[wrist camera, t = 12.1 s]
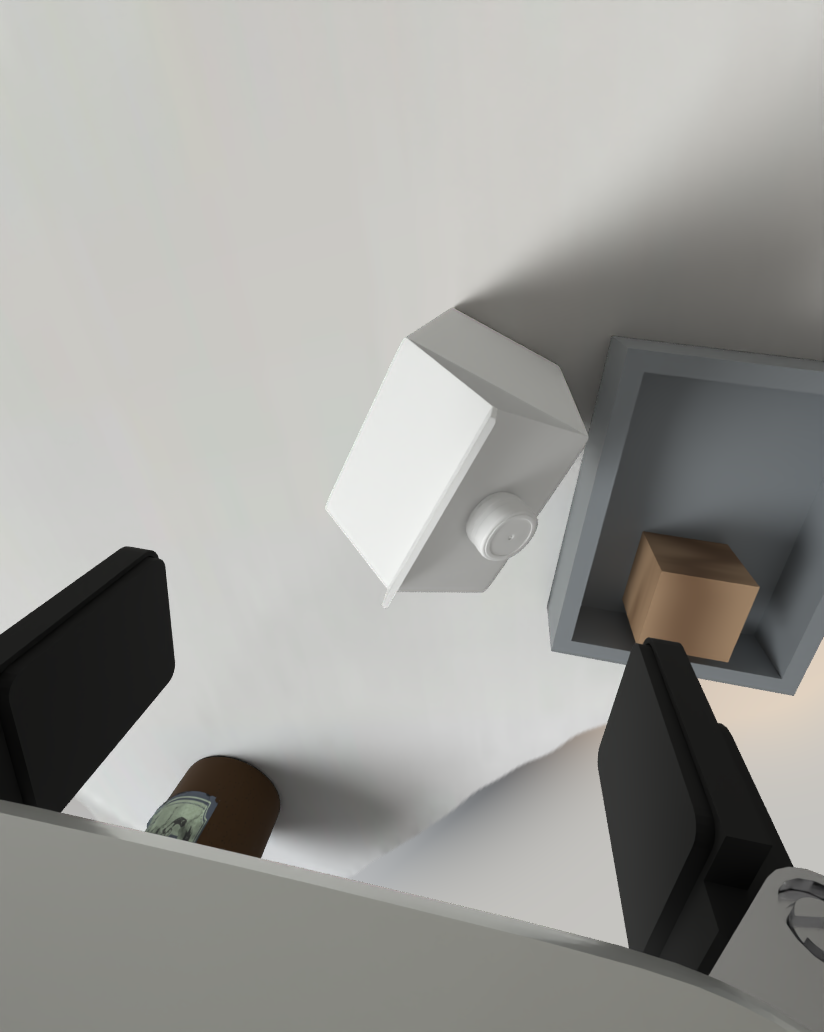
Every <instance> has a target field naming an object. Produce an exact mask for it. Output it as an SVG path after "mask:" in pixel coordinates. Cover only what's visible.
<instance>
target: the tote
mask: <svg viewBox="0 0 824 1032" xmlns="http://www.w3.org/2000/svg"><path fill="white" fill-rule="evenodd" d="M588 436H589V438H588V441H587V443H586V446H585V450H584V455H583V459H582V463H581V467H580V471H579V475H578V480H577V484H576V488H575V492H574V496H573V500H572V505H571V509H570V513H569V517H568V521H567V525H566V530H565V534H564V538H563V542H562V546H561V550H560V555H559V559H558V563H557V567H556V571H555V575H554V580H553V584H552V588H551V592H550V596H549V601H548V605H547V610H548V621H549V632H550V644H551V651H554V652H559V653H564V654H570V655H575V656H581V657H586V658H592V659H597V660H602V661H608V662H613V663H619V664H624V665H626V664H627V661H628V658H629V655H630V652H631V649H632V647H633V645H634V644H635V643H636V642H635V639H634V635H633V632H632V629H631V626H630V623H629V619H628V616H627V613H626V610H625V607H624V604H623V600H622V598H623V595H624V591H625V588H626V585H627V581H628V578H629V575H630V572H631V568H632V565H633V562H634V558H635V555H636V552H637V549H638V545H639V542H640V539H641V535H642V532H643V531H645V532H651V533H657V534H664V535H670V536H677V537H683V538H689V539H696V540H702V541H709V542H715V543H721V544H728V546H729V547H730V548H731V550H732V551H733V552H734V554H735V555H736V556H737V558H738V559H739V560H740V562H741V563H742V564H743V566H744V567H745V568H746V570H747V571H748V572H749V574H750V575H751V576H752V577H753V579H754V580H755V581H756V583H757V584H758V585H759V587H760V588H759V590H758V593H757V595H756V598H755V600H754V602H753V605H752V607H751V609H750V612H749V614H748V616H747V619H746V621H745V623H744V626H743V628H742V631H741V633H740V635H739V638H738V640H737V642H736V645H735V647H734V649H733V652H732V654H731V657H730V659H729V661H728V662H723V661H717V660H712V659H706V658H701V657H695V656H689V655H687V656H688V659H689V661H690V663H691V665H692V667H693V670H694V672H695V674H696V676H697V678H700V679H705V680H711V681H716V682H722V683H728V684H733V685H738V686H744V687H749V688H755V689H760V690H765V691H770V692H776V693H781V694H787V695H792V696H794V694H795V692H796V690H797V688H798V686H799V684H800V682H801V680H802V678H803V676H804V674H805V672H806V670H807V668H808V666H809V665H810V663H811V660H812V659H813V657H814V655H815V653H816V651H817V649H818V647H819V645H820V642H821V640H822V639H823V637H824V361H816V360H808V359H800V358H791V357H783V356H775V355H766V354H758V353H749V352H741V351H733V350H724V349H716V348H708V347H699V346H691V345H683V344H674V343H666V342H658V341H649V340H641V339H633V338H624V337H616V336H612V338H611V342H610V346H609V350H608V354H607V359H606V363H605V367H604V371H603V375H602V379H601V384H600V388H599V392H598V396H597V400H596V404H595V409H594V413H593V417H592V421H591V425H590V430H589V434H588Z"/></svg>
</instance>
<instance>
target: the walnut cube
mask: <svg viewBox="0 0 824 1032" xmlns="http://www.w3.org/2000/svg"><path fill="white" fill-rule="evenodd" d="M759 588H760V587H759V585H758V584H757V583H756V581H755V580H754V579H753V577H752V576H751V575H750V574H749V572H748V571H747V570H746V568H745V567H744V566H743V564H742V563H741V562H740V560H739V559H738V558H737V556H736V555H735V554H734V552H733V551H732V550H731V548H730V547H729V546H728V544H721V543H715V542H709V541H702V540H696V539H689V538H683V537H677V536H670V535H664V534H657V533H651V532H645V531H643V532H642V535H641V539H640V542H639V545H638V549H637V552H636V555H635V558H634V562H633V565H632V568H631V572H630V575H629V578H628V581H627V585H626V588H625V591H624V595H623V598H622V600H623V604H624V607H625V610H626V613H627V616H628V619H629V623H630V626H631V629H632V632H633V635H634V639H635V642H636V643H639V644H643V642H644V641H645V639H646V638H648V637H650V638H656V639H662V640H667V641H673V642H678V643H681V644H682V646H683V648H684V650H685V652H686V654H687V655H689V656H695V657H701V658H706V659H712V660H717V661H723V662H728V661H729V659H730V657H731V654H732V652H733V649H734V647H735V645H736V642H737V640H738V638H739V635H740V633H741V631H742V628H743V626H744V623H745V621H746V619H747V616H748V614H749V612H750V609H751V607H752V605H753V602H754V600H755V598H756V595H757V593H758V590H759Z"/></svg>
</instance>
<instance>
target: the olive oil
mask: <svg viewBox="0 0 824 1032" xmlns="http://www.w3.org/2000/svg"><path fill="white" fill-rule="evenodd" d="M279 810H280V799H279V795H278V793H277V791H276V789H275V787H274V785H273V784H272V783H271V781H270V780H269V779H268V778H267V777H266V776H265V775H264V774H263V773H261V772H260V771H259V770H257V769H256V768H254V767H253V766H251V765H249V764H247V763H245V762H242V761H240V760H237V759H233V758H228V757H209V758H204V759H202V760H199V761H197V762H196V763H194V764H193V765H192V766H191V767H190V768H189V770H188V771H187V773H186V774H185V775H184V777H183V778H182V780H181V781H180V783H179V784H178V785H177V787H176V788H175V790H174V791H173V793H172V794H171V796H170V797H169V798H168V800H167V801H166V802H165V803H164V804H162V806H160V807H159V808H158V810H157V811H156V812H155V814H154V815H153V816H152V818H151V819H150V820H149V822H148V823H147V829H146V831H145V832H148V833H153V834H157V835H161V836H166V837H170V838H175V839H179V840H183V841H188V842H192V843H196V844H201V845H205V846H209V847H214V848H218V849H222V850H226V851H231V852H235V853H239V854H244V855H248V856H252V857H257V858H261V857H262V854H263V852H264V849H265V847H266V844H267V842H268V839H269V837H270V834H271V832H272V829H273V827H274V824H275V822H276V819H277V817H278V814H279Z"/></svg>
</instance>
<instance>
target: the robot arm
mask: <svg viewBox="0 0 824 1032" xmlns="http://www.w3.org/2000/svg"><path fill="white" fill-rule="evenodd" d="M174 669H175V658H174V649H173V639H172V629H171V619H170V609H169V599H168V589H167V579H166V569H165V564H164V562H163V560H161V559H159V558H158V555H157V554H156V552H154V551H152V550H146V549H140V548H134V547H123V548H121V549H119V550H118V551H116V552H115V553H114V554H112V555H111V556H109V557H108V558H107V559H105V560H104V561H102V562H101V563H100V564H98V565H97V566H95V567H94V568H93V569H91V570H90V571H88V572H87V573H86V574H84V575H83V576H82V577H80V578H79V579H77V580H76V581H75V582H73V583H72V584H70V585H69V586H68V587H66V588H65V589H63V590H62V591H61V592H59V593H58V594H56V595H55V596H54V597H52V598H51V599H49V600H48V601H47V602H45V603H44V604H42V605H41V606H40V607H38V608H37V609H35V610H34V611H33V612H31V613H30V614H28V615H27V616H26V617H24V618H23V619H21V620H20V621H19V622H17V623H16V624H14V625H13V626H12V627H10V628H9V629H7V630H6V631H5V632H3V633H2V634H0V1032H824V876H823V875H821V874H818V873H815V872H813V871H810V870H808V869H802V868H795V867H793V865H792V863H791V861H790V859H789V856H788V854H787V852H786V850H785V848H784V846H783V844H782V841H781V839H780V837H779V835H778V833H777V831H776V829H775V826H774V824H773V822H772V820H771V818H770V816H769V814H768V812H767V809H766V807H765V806H764V803H763V801H762V799H761V797H760V795H759V793H758V790H757V788H756V786H755V784H754V782H753V780H752V778H751V775H750V773H749V771H748V769H747V767H746V765H745V763H744V760H743V758H742V756H741V754H740V752H739V750H738V748H737V746H736V743H735V741H734V739H733V737H732V735H731V733H730V732H729V730H728V729H727V727H725V726H724V725H723V724H720V723H717V721H716V719H715V716H714V714H713V712H712V710H711V707H710V705H709V703H708V701H707V699H706V696H705V694H704V692H703V690H702V688H701V685H700V683H699V681H698V679H697V676H696V674H695V672H694V670H693V667H692V665H691V663H690V661H689V659H688V656H687V654H686V652H685V650H684V648H683V646H682V644H681V643H678V642H673V641H667V640H662V639H656V638H650V637H648V638H646V639H645V641H644V642H643V644H639V643H635V644H634V645H633V647H632V649H631V652H630V655H629V658H628V661H627V664H626V667H625V671H624V674H623V677H622V680H621V683H620V686H619V689H618V692H617V695H616V698H615V701H614V704H613V707H612V710H611V713H610V716H609V719H608V723H607V726H606V729H605V732H604V735H603V738H602V741H601V744H600V747H599V752H598V770H599V776H600V782H601V787H602V793H603V799H604V805H605V811H606V817H607V823H608V829H609V834H610V840H611V846H612V852H613V857H614V863H615V869H616V875H617V881H618V887H619V892H620V898H621V904H622V910H623V915H624V921H625V927H626V933H627V938H628V945H629V948H625V947H622V946H619V945H615V944H611V943H607V942H603V941H599V940H595V939H591V938H588V937H583V936H580V935H576V934H572V933H568V932H564V931H561V930H556V929H553V928H549V927H545V926H541V925H537V924H533V923H529V922H526V921H522V920H518V919H514V918H509V917H506V916H502V915H497V914H493V913H489V912H485V911H481V910H476V909H472V908H468V907H464V906H460V905H456V904H451V903H447V902H443V901H439V900H435V899H430V898H426V897H422V896H418V895H414V894H409V893H405V892H401V891H397V890H392V889H389V888H384V887H380V886H376V885H371V884H368V883H363V882H359V881H355V880H351V879H347V878H342V877H338V876H334V875H329V874H325V873H321V872H317V871H312V870H308V869H304V868H300V867H295V866H291V865H287V864H282V863H278V862H274V861H270V860H265V859H261V858H257V857H252V856H248V855H244V854H239V853H235V852H231V851H226V850H222V849H218V848H214V847H209V846H205V845H201V844H196V843H192V842H188V841H183V840H179V839H175V838H170V837H166V836H161V835H157V834H153V833H148V832H144V831H139V830H135V829H131V828H126V827H122V826H117V825H113V824H108V823H104V822H100V821H95V820H91V819H86V818H82V817H77V816H73V815H69V814H64V813H61V812H62V810H63V809H64V808H65V806H67V804H68V803H69V802H70V800H72V798H73V797H74V796H75V795H76V793H77V792H78V791H79V790H80V789H81V787H82V786H83V785H84V784H85V783H86V781H87V780H88V779H89V778H90V777H91V775H92V774H93V773H94V772H95V771H96V769H97V768H98V767H99V766H100V765H101V763H102V762H103V761H104V760H105V759H106V757H107V756H108V755H109V754H110V752H111V751H112V750H113V749H114V748H115V746H116V745H117V744H118V743H119V742H120V740H121V739H122V738H123V737H124V736H125V734H126V733H127V732H128V731H129V730H130V728H131V727H132V726H133V725H134V724H135V722H136V721H137V720H138V719H139V718H140V716H141V715H142V714H143V713H144V712H145V710H146V709H147V708H148V707H149V705H150V704H151V703H152V702H153V701H154V699H155V698H156V697H157V696H158V695H159V693H160V692H161V691H162V690H163V689H164V687H165V686H166V685H167V684H168V683H169V681H170V680H171V678H172V676H173V673H174Z"/></svg>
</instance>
